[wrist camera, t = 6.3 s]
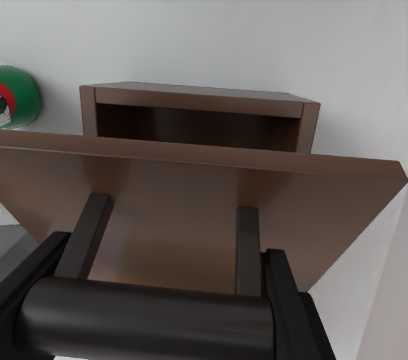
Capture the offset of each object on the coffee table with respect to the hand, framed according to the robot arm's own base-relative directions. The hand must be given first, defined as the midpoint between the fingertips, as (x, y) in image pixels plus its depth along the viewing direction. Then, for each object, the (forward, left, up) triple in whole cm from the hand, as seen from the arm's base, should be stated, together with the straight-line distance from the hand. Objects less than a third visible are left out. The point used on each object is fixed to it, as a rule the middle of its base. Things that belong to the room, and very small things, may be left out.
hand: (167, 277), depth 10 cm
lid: (+2, +1, -4) cm, 5 cm away
